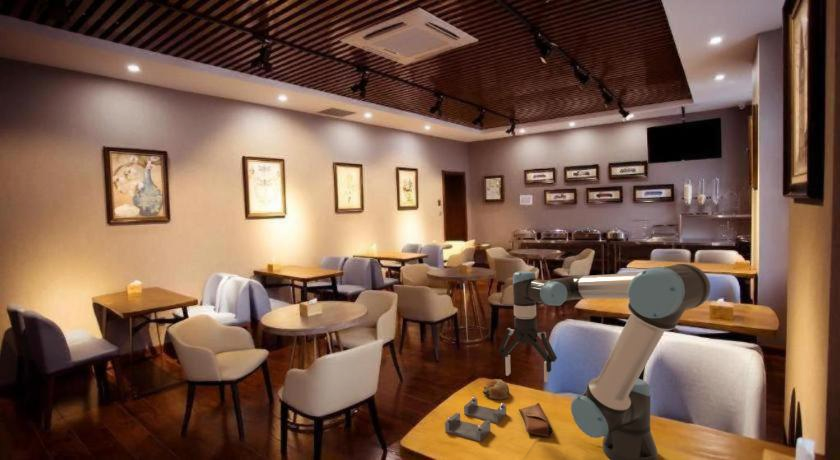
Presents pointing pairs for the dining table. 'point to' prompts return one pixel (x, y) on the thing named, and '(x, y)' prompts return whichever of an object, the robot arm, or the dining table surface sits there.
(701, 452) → the dining table surface
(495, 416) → the bent steel plates
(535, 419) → the sunglasses case
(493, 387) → the bread roll
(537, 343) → the robot arm
